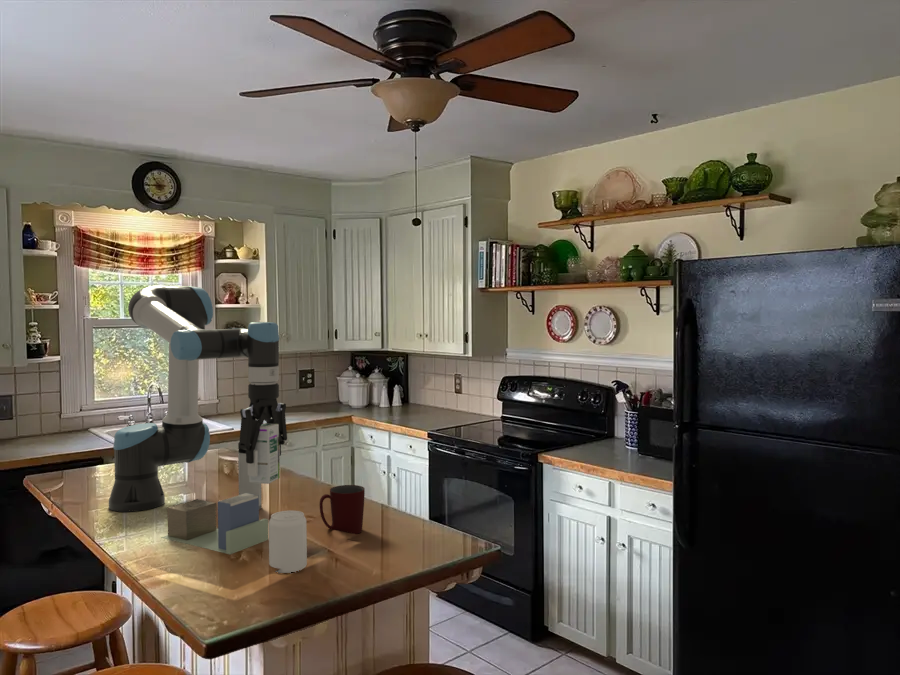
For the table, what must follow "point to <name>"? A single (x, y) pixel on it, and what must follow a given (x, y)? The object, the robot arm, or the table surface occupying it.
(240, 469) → the travel mug
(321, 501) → the mug
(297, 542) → the beverage can
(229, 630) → the table surface
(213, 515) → the bookend
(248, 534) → the pale green slab
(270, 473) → the syrup box
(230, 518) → the book block
